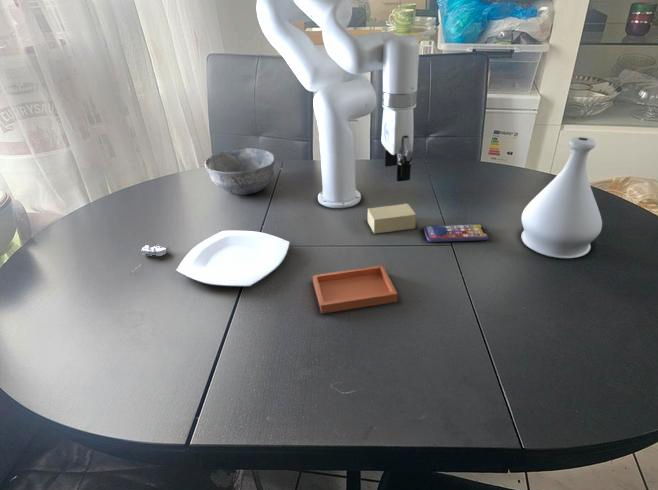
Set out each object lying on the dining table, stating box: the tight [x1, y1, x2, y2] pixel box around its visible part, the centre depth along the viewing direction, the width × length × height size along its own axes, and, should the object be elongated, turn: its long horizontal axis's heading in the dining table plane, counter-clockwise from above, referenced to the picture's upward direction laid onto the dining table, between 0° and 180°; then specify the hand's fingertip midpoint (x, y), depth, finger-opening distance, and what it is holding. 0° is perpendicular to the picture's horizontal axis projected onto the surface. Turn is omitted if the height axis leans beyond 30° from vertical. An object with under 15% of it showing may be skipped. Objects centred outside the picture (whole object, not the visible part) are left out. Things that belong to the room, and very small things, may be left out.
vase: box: [520, 136, 603, 259], centre depth 101 cm, size 17×17×25 cm
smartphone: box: [423, 223, 489, 243], centre depth 112 cm, size 1×7×15 cm
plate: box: [176, 229, 291, 288], centre depth 104 cm, size 23×23×2 cm
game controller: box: [130, 243, 168, 274], centre depth 105 cm, size 6×12×3 cm, turn 2°
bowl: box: [203, 147, 276, 195], centre depth 135 cm, size 21×21×10 cm
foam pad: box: [367, 203, 417, 235], centre depth 116 cm, size 6×11×4 cm, turn 102°
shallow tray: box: [312, 265, 398, 314], centre depth 93 cm, size 11×16×2 cm
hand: (396, 172), depth 108 cm, fingers open, 9 cm apart
